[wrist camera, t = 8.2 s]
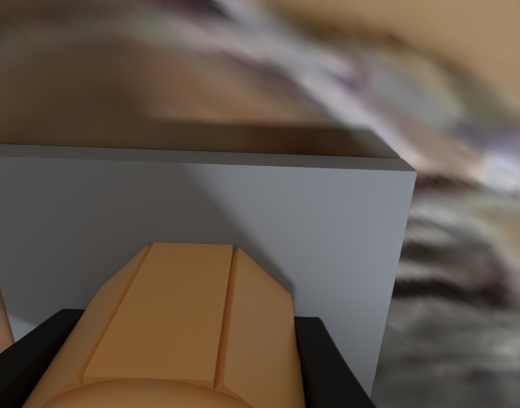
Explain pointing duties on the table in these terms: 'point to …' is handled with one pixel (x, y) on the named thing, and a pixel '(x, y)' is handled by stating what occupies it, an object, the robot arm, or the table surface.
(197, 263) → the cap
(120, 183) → the stud block
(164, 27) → the table surface
